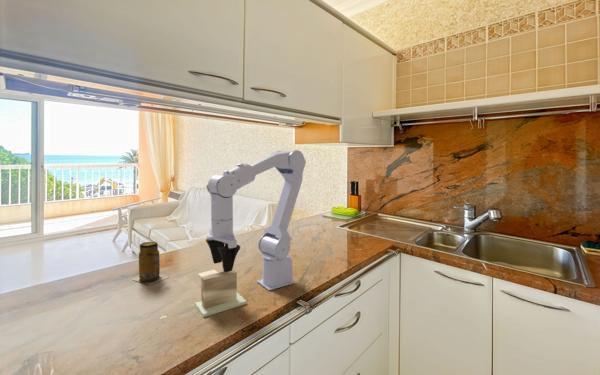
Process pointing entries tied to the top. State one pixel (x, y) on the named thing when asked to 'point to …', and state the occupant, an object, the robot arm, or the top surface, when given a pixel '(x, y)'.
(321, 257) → the top surface
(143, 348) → the top surface
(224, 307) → the rest board
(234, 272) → the tan wooden block
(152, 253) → the condiment
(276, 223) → the robot arm
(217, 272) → the tile
